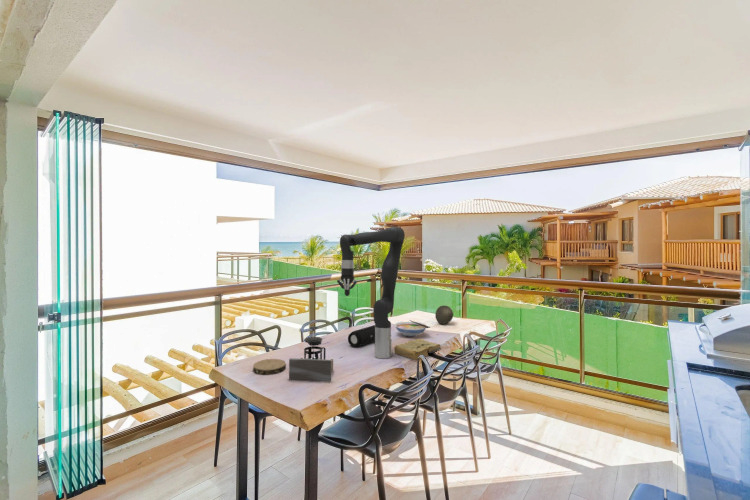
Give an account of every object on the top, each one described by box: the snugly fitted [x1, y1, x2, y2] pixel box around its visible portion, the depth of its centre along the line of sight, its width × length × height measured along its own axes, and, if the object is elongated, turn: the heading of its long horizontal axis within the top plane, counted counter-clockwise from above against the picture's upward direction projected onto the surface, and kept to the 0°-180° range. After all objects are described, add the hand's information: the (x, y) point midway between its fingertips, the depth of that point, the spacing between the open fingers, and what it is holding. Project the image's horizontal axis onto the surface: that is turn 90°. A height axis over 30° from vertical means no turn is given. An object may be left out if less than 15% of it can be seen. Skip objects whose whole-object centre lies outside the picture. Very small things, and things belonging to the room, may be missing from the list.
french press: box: [303, 326, 327, 360], centre depth 180 cm, size 12×9×23 cm
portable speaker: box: [347, 324, 375, 348], centre depth 232 cm, size 26×10×10 cm, turn 143°
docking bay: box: [288, 357, 334, 382], centre depth 176 cm, size 14×20×10 cm
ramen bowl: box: [394, 319, 431, 338], centre depth 253 cm, size 25×23×8 cm
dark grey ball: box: [434, 305, 454, 325], centre depth 288 cm, size 14×14×15 cm
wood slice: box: [252, 358, 287, 376], centre depth 183 cm, size 16×16×3 cm
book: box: [393, 338, 442, 362], centre depth 213 cm, size 25×17×6 cm
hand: (347, 295), depth 217 cm, fingers closed
